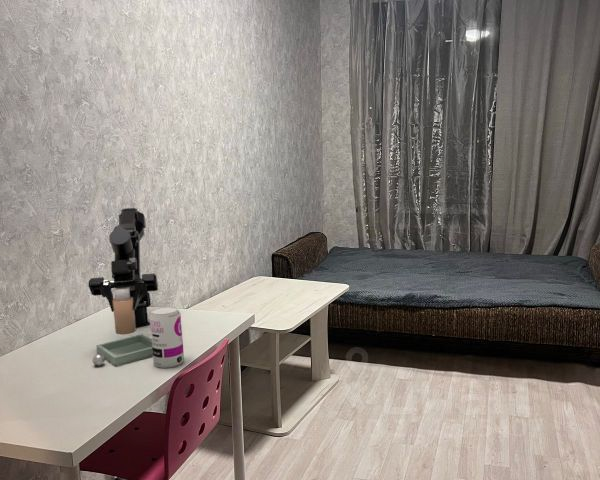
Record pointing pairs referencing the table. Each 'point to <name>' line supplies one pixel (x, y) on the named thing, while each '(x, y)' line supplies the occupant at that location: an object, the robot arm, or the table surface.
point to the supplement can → (166, 337)
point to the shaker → (123, 311)
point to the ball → (98, 360)
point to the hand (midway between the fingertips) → (123, 310)
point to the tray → (126, 350)
